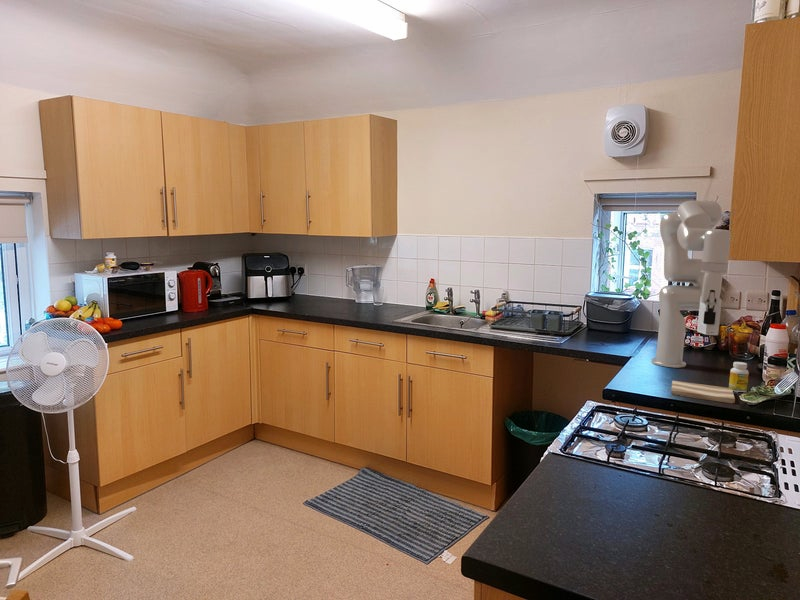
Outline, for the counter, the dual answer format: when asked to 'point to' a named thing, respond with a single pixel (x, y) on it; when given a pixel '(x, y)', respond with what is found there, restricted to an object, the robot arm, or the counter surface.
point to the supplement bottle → (739, 377)
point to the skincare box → (708, 328)
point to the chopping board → (703, 391)
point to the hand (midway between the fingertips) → (708, 322)
